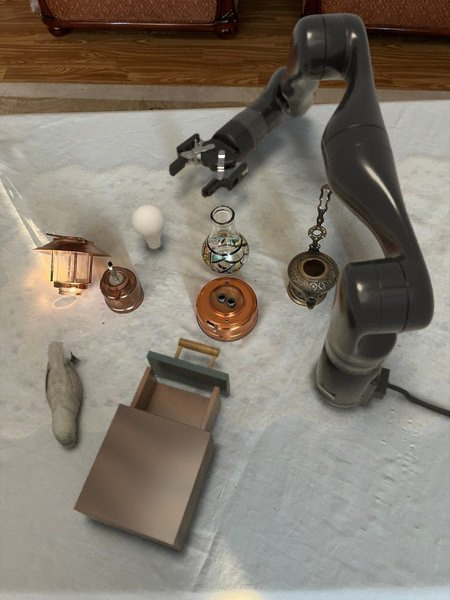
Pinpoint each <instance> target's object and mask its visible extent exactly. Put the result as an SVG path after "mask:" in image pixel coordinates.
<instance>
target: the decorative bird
mask: <svg viewBox="0 0 450 600" xmlns="http://www.w3.org/2000/svg"><path fill="white" fill-rule="evenodd" d="M47 347H48V348H47V349H48V351H47V358H48V361H47V366H46V371H45V376H44V377H45V378H44V395H45V398H46V401H47V404H48V406H49V409H50V410H51V429H52V433H53V436H54V438H55V440H56V441H57V442H58V443H59V444H60V445H61V446H63V447H66V448H73V447H74V446H75V445H76V442H77V430H78V429H77V422H76V419H77V416H78V411H79V408H80V405H81V402H82V387H81V382H80V379H79V376H78V375H79V374H77V371H76V369H75V366H74V364H77V361H78V362H80V361H82V360H81V359H78V358H77V356H75V354H74V353H73V352H72V351H70V359H69V358H68V357H66V356H65V348H64V343H63V342H62V341H57V340H51V343H49V344H48V346H47Z"/></svg>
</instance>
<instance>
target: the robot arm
mask: <svg viewBox="0 0 450 600" xmlns="http://www.w3.org/2000/svg"><path fill="white" fill-rule="evenodd" d="M368 39H369V38H368V33H367V30H366V26H365V23H364V21H363V20H362V18H361V17H360V16H359V15H357V14H354V13H348V12H347V13H346V12H345V13H344V12H343V13H342V12H340V13H339V12H338V13H323V14H320V13H319V14H311V15H306V16H303V17H302V18H300V19H299V20H298V21H297V22H296V24H295V26H294V28H293V30H292V33H291V38H290V43H289V48H288V55H287V60H286V66H282V67H280V68H277V70H275V72H273V74H272V75H271V76H270V78H269V80H268V81H267V83H266V85H265V87H264V89H263V91H262V92H261V93H260V95H259V96H258V97H257V98H255V100H254V101H253V102H251V104H249V105H248V106H247V107H246V108H244V109H243V110H241V111H240V112H238V113H237V114H235V115H234V116H233V117H232V118H231V119H229V120H228V121H227V122H225V124H223V126H221V127H220V128H219V129H218V130H216V132H214V133H213V135H212V136H211V138H210V139H208V140H204V139H202V138H201V136H200V134H199V133H198V132H197V133H196V132H195V133H193V134H192V135H191V136H189V137H188V138H187V139H185V140H184V141H183V142H181V143H180V144H178V145H177V146H176V148H175V150H176V156H177V158H176V159H174V160H173V161H172V162H171V163H170V164H169V166H168V173H169V175H170V176H171V177H175V176H177V175H178V174H179V173H180V172H182V170H184V169H185V167H186V166H189V165H194V166H200V165H202V166H203V167H205V168H208V169H209V170H210V171H211V172H213V173H215V172H216V178H215V177H213V178H212V179H211V180H210V181H209V182H208V183H207V184H205V185H204V186H203V187H202V188H201V191H200V192H201V197H203V198H204V199H207V198H210V197H211V196H213V195H214V194H215V193H216V192H217V191H219V189H223V188H224V189H226V190H227V191H229V192H231V191H233V190H234V189H235V188H236V187H237V186H238V185H239V183H241V181H242V180H243V179H244V178H245V177H246V176H247V175H248V174H249V173H248V171H249V170H248V169H249V168H248V167H249V166H248V162H246V161H243V160H244V159H245V158H246V157H247V156H249V155H250V154H251V153H252V152H253V151H254V150H255V149H257V148H258V147H259V146H260V144H262V143H263V141H265V139H266V138H267V137H268V136H269V135H271V133H273V131H274V130H276V129H277V128H278V127H279V126H280V125H281V124H282V122H283V120H284V114H285V115H286V116H287V117H289V118H291V119H297V118H301V117H303V116H304V115H306V114H307V113H308V112H309V110H310V109H311V108H312V106H313V104H314V102H315V100H316V95H317V94H316V92H317V90H318V88H319V86H320V84H321V81H337V80H338V81H339V80H342V81H343V82H345V85H346V88H345V91H344V93H343V96H342V98H341V100H340V102H339V104H338V105H337V106H336V108H335V109H334V112H333V113H332V114H331V116H330V118H329V119H328V122H327V123H326V125H325V127H324V130H323V133H322V136H321V139H320V152H321V158H322V163H323V168H324V174H325V178H326V183H327V186H328V187H329V189H330V191H331V192H332V194H333V195H334V196H335V198H336V199H337V200H338V201H339V202H340V203H341V204H342V205H343V206H344V207H345V208H346V209H347V210H348V211H349V212H350V213H351V214H352V215H353V216H354V217H356V218H357V219H358V220H359V221H360V222H361V223H362V224H363V225H364V226H365V227H366V228H367V229H368V230H369V231H370V233H371V234H372V235H373V236H374V238H375V239H376V241H377V243H378V244H379V246H380V249H381V251H382V253H383V255H384V257H379V258H368V259H356V260H349V261H347V262H346V263H345V264H343V265H342V266H341V268H340V269H339V272H338V275H337V279H336V284H335V290H334V296H333V300H332V304H331V310H330V318H329V325H328V328H327V332H326V335H325V338H324V341H323V345H322V349H321V352H320V355H319V358H318V362H317V365H316V367H315V370H314V373H313V386H314V388H315V392H316V393H317V395H318V396H319V397H320V398H321V399H322V400H323V401H324V402H325V403H327V404H328V405H331V406H333V407H334V408H335V407H336V408H339V409H350V408H354V407H356V406H358V405H360V406H364V407H365V406H366V405H367V403H368V402H369V400H370V399H371V398H374V399H379V400H381V401H382V400H383V399H384V398H385V397H386V395H387V390H388V389H389V390H391V391H393V392H396V393H399V394H401V395H403V396H404V397H405V398H406V399H407V400H408V401H410V402H412V403H414V404H416V405H418V406H420V407H423V408H425V409H427V410H430V411H432V412H436V413H438V414H441V415H444V416H448V417H450V410H449V409H445V408H442V407H440V406H436V405H433V404H431V403H428V402H425V401H424V400H421V399H420V398H417V397H416V396H413V395H412V394H411V393H410V392H409V391H408V390H406V389H405V388H402V387H401V386H398V385H396V384H392V383H390V382H389V380H390V373H391V369H390V368H386V367H384V366H385V365H386V363H387V361H388V359H389V357H390V356H391V354H392V352H393V351H394V349H395V347H396V344H397V341H398V334H401V333H409V332H418V331H423V330H425V329H426V328H428V327H429V326H430V324H432V321H433V319H434V314H435V293H434V288H433V282H432V278H431V276H430V272H429V268H428V265H427V263H426V260H425V257H424V254H423V251H422V249H421V245H420V244H419V241H418V237H417V235H416V233H415V230H414V227H413V225H412V222H411V219H410V215H409V213H408V210H407V206H406V203H405V200H404V195H403V192H402V188H401V184H400V180H399V175H398V171H397V166H396V161H395V157H394V152H393V149H392V144H391V141H390V136H389V133H388V130H387V127H386V124H385V120H384V117H383V113H382V110H381V105H380V102H379V98H378V93H377V89H376V84H375V77H374V72H373V66H372V65H373V64H372V57H371V51H370V45H369V40H368ZM198 155H199V156H200V157H198ZM242 161H243V162H242ZM233 169H234V170H233ZM229 170H233V171H232V172H231V174H230V175H228V177H226V171H229Z"/></svg>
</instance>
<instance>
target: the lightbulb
mask: <svg viewBox="0 0 450 600" xmlns="http://www.w3.org/2000/svg"><path fill="white" fill-rule="evenodd" d="M131 225H132V226H131V227H132V228H133V230H134V231H135V233H136V234H137V235H139V236H140V237H142V238H143V239H144V241H145V242H146V244H147V247H148V248H149V249H151V250H156V249H159V248H160V246H161V244H162V242H161V238H162V237H161V233H162V232H163V230H164V229H165V225H166V219H165V215H164V213H163V211H162V210H161V209H160V208H159V207H158V206H156V205H153V204H143V205H141V206H138V207H137V208H136V209H135V211H133V213H132V216H131Z"/></svg>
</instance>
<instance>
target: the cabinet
mask: <svg viewBox="0 0 450 600" xmlns="http://www.w3.org/2000/svg"><path fill="white" fill-rule="evenodd" d="M215 445H216V444H215V441H214V436H213V431H212V432H208V431H205V430H202V429H199V428H196V427H193V426H190V425H186V424H183V423H180V422H177V421H174V420H171V419H168V418H164V417H161V416H158V415H155V414H152V413H149V412H145V411H142V410H139V409H136V408H133V407H130V405H127V404H123V403H119V404H118V406H117V409H116V411H115V414H114V415H113V418H112V420H111V422H110V424H109V427H108V428H107V431H106V434H105V436H104V439H103V441H102V443H101V445H100V447H99V449H98V452H97V454H96V456H95V459H94V460H93V463H92V466H91V468H90V469H89V472H88V475H87V477H86V479H85V481H84V484H83V486H82V488H81V491H80V493H79V494H78V495H79V496H78V498H77V500H76V502H75V505H74V506H73V510H74V511H76V512H77V513H79V514H82V515H83V516H86V517H87V518H89V519H91V520H94V521H97V522H99V523H102V524H105V525H108V526H110V527H113V528H116V529H119V530H121V531H124V532H127V533H129V534H131V535H135V536H137V537H140V538H142V539H145V540H148V541H151V542H154V543H156V544H159V545H161V546H165V547H167V548H170V549H172V550H175V551H179V552H182V551H183V549H184V545H185V542H186V540H187V535H188V533H189V530H190V527H191V524H192V521H193V518H194V515H195V512H196V509H197V507H198V503H199V501H200V497H201V494H202V492H203V488H204V485H205V481H206V479H207V476H208V473H209V470H210V467H211V464H212V461H213V458H214V455H215V452H216V446H215Z"/></svg>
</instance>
